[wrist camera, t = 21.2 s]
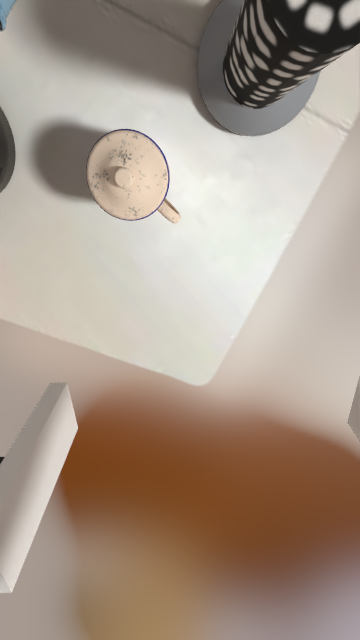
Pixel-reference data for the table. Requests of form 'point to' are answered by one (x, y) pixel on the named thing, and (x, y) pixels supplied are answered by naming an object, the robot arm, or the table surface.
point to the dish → (220, 98)
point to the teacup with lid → (129, 176)
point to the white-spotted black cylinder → (285, 45)
